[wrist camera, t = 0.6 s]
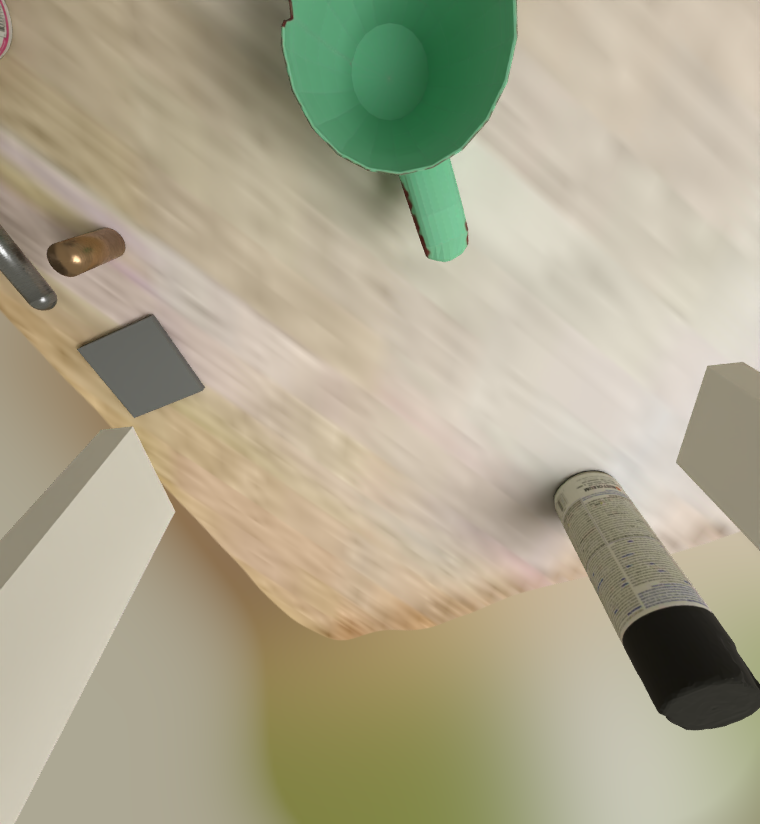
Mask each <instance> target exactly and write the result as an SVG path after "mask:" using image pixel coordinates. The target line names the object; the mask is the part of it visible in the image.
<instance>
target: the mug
mask: <svg viewBox="0 0 760 824" xmlns="http://www.w3.org/2000/svg"><path fill="white" fill-rule="evenodd" d="M288 1H289V7H290V17H291V18H290V19H288V20H284V21H283V24H282V26H281V47H282V51H283V55H284V60H285V64H286V68H287V72H288V76H289V80H290V84H291V88H292V92H293V94H294V95H295V97H296V99H297V101H298V103H299V105H300V107H301V109H302V110H303V112H304V114H305V116H306V118H307V120H308V122H309V124H310V125H311V127H312V129H313V130H314V131H315V132H316V133H317V134H318V135H319V136H320V137H321V138H322V139H323V140H324V141H325V142H326V143H327V144H328V145H329V146H330V147H331V148H332V149H333V150H334V151H335V152H336V153H337V154H338V155H339V156H341V157H343V158H345V159H347V160H349V161H350V162H352V163H354V164H356V165H358V166H360V167H362V168H364V169H366V170H367V171H372V172H380V173H387V174H394V175H399V178H400V181H401V184H402V187H403V190H404V193H405V196H406V199H407V202H408V205H409V208H410V211H411V214H412V217H413V220H414V223H415V226H416V229H417V232H418V235H419V238H420V241H421V244H422V246H423V249H424V252H425V255H426V256H427V257H428V258H429V259H432V260H436V261H442V262H446V261H450V260H452V259H454V258H456V257H457V256H459V255H460V254H462V253H463V251H464V250H465V248H466V247H467V245H468V227H467V223H466V219H465V215H464V211H463V206H462V202H461V198H460V195H459V191H458V187H457V183H456V180H455V176H454V172H453V168H452V165H451V161H450V157H452V156H453V155H455V154H457V153H458V152H460V151H462V150H463V149H464V148H465V147H466V145H467V144H468V143H469V142H470V141H471V140H472V139H473V138H474V136H475V135H476V134H477V133H478V132H479V131H480V130H481V128H482V127H483V126H484V125H485V124H486V123H487V122H488V120H489V118H490V116H491V114H492V112H493V110H494V108H495V106H496V104H497V102H498V100H499V98H500V96H501V94H502V92H503V90H504V88H505V86H506V84H507V82H508V77H509V73H510V68H511V64H512V59H513V54H514V50H515V45H516V41H517V0H288Z"/></svg>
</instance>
